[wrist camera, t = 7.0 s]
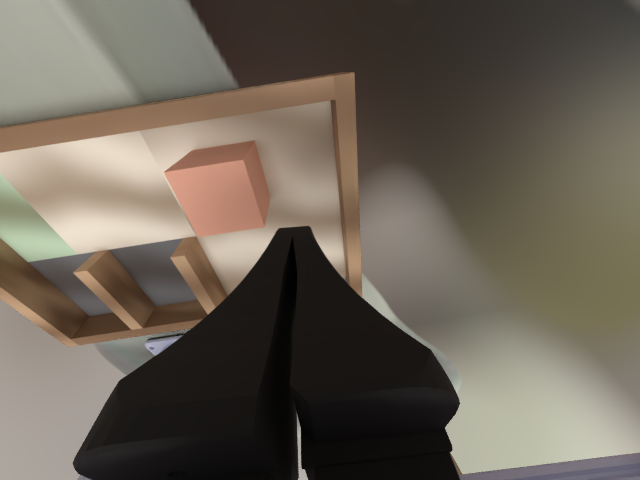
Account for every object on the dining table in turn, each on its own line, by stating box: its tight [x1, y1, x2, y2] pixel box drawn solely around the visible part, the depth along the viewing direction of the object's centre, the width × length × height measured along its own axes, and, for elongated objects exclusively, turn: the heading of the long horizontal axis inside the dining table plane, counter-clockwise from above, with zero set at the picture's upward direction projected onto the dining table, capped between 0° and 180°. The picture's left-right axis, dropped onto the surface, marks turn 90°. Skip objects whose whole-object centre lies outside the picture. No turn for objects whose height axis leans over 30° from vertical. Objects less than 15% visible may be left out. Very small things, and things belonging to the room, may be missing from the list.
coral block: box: [164, 140, 270, 237], centre depth 15 cm, size 4×4×4 cm
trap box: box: [0, 72, 362, 347], centre depth 18 cm, size 17×27×3 cm, turn 97°
